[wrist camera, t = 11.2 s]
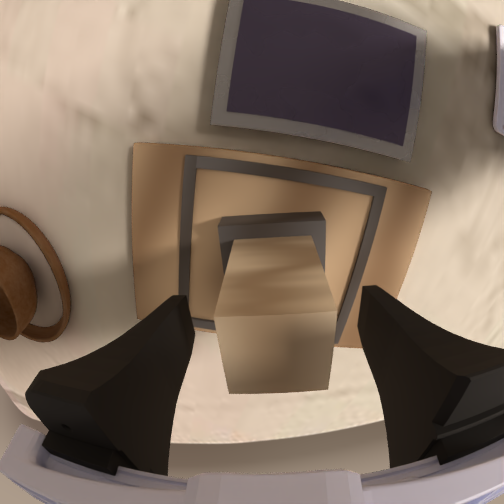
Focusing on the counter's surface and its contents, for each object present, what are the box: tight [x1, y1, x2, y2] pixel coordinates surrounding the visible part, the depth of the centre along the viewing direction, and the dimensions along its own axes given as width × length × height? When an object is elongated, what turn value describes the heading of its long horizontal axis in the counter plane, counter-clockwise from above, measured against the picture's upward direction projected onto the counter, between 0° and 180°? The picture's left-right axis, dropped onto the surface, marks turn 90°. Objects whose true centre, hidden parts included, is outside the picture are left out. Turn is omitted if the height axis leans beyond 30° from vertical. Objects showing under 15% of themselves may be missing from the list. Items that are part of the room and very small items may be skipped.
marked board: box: [132, 143, 432, 348], centre depth 16 cm, size 16×11×1 cm
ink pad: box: [210, 0, 427, 162], centre depth 12 cm, size 10×8×1 cm
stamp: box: [214, 211, 337, 394], centre depth 13 cm, size 5×5×8 cm
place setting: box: [0, 207, 71, 342], centre depth 18 cm, size 18×20×6 cm
